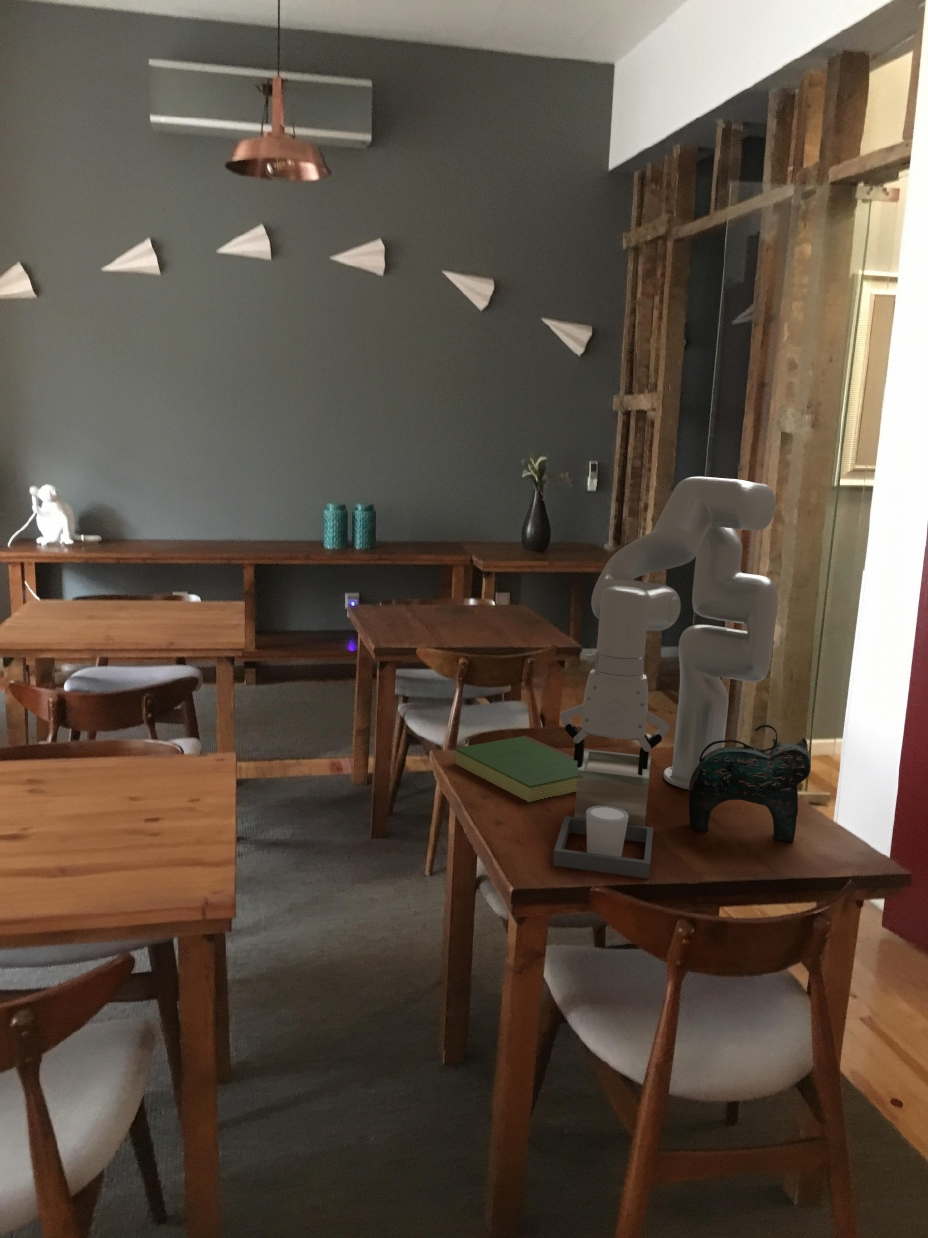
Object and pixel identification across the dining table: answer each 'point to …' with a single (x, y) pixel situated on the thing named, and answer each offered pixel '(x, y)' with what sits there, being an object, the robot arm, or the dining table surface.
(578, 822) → the dark grey square frame
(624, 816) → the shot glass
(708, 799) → the ceramic cat
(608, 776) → the stand
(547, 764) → the hardcover book
